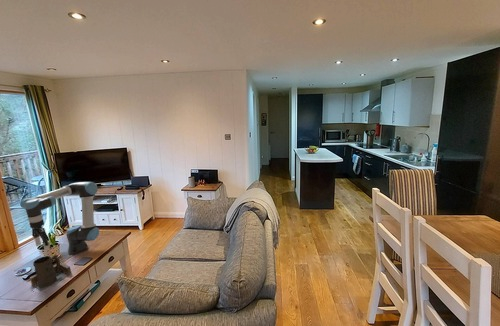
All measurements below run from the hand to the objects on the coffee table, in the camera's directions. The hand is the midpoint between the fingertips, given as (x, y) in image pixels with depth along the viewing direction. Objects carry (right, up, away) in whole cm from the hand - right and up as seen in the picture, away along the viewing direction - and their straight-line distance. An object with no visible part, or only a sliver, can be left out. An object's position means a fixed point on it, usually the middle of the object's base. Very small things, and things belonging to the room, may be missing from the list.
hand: (43, 247), depth 171 cm
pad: (+1, -28, +6) cm, 28 cm away
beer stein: (+1, -28, +6) cm, 28 cm away
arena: (0, -27, +8) cm, 28 cm away
